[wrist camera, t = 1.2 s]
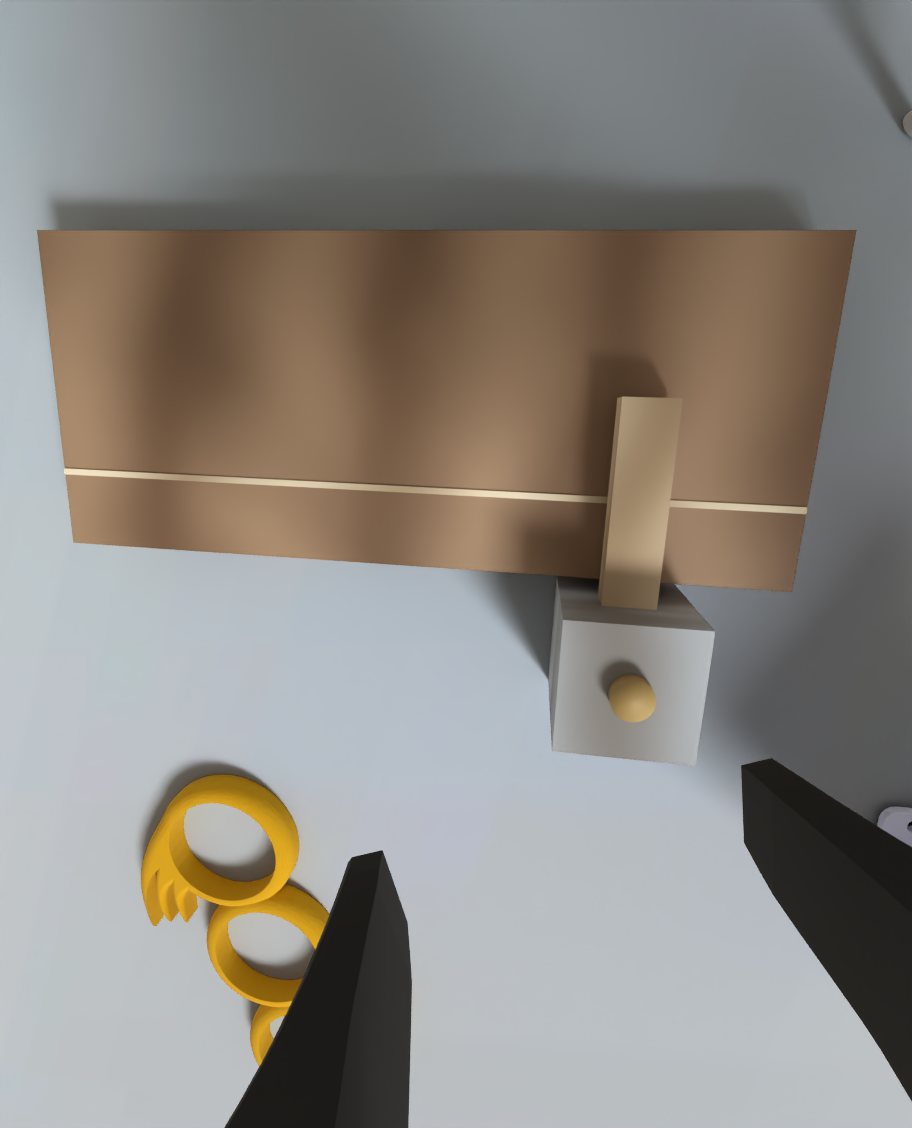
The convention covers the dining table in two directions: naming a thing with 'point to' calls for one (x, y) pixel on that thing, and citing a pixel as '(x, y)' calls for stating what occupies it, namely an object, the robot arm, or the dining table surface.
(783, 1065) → the dining table surface
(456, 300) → the board
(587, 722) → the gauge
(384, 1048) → the robot arm
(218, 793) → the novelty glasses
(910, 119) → the toy
